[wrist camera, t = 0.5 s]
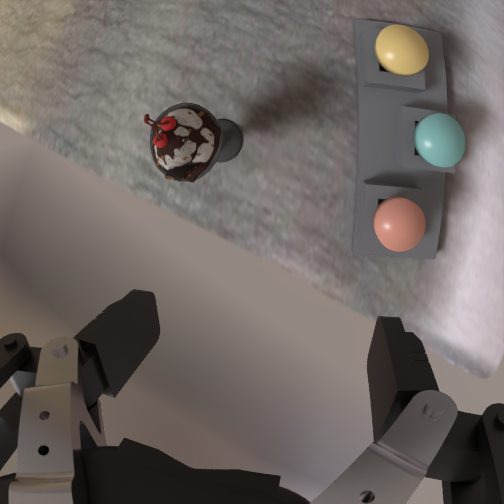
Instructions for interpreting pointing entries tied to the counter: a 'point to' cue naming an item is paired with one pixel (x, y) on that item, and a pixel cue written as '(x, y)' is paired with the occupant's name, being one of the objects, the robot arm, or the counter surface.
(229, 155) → the sundae
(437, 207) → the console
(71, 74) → the counter surface
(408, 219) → the salmon orange dome button
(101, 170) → the counter surface
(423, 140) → the button teal
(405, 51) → the button ochre
